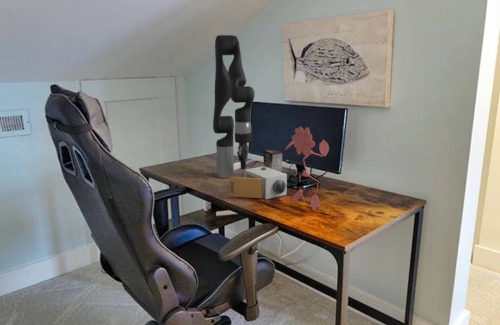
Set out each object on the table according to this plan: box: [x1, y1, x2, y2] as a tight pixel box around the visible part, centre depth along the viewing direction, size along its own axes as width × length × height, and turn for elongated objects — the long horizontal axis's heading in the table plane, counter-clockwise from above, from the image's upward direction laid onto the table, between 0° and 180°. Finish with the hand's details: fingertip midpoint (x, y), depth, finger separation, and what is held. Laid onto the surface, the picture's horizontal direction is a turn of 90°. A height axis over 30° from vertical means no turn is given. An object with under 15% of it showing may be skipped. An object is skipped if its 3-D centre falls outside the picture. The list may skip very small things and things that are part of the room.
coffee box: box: [263, 149, 283, 173], centre depth 201 cm, size 9×6×16 cm
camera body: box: [243, 165, 288, 200], centre depth 183 cm, size 20×12×11 cm, turn 33°
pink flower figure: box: [284, 126, 330, 217], centre depth 159 cm, size 15×26×35 cm, turn 35°
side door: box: [228, 176, 264, 199], centre depth 175 cm, size 16×2×9 cm, turn 78°
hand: (243, 168), depth 176 cm, fingers closed
